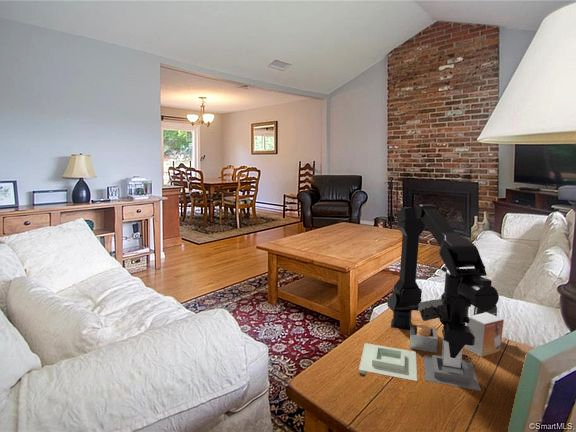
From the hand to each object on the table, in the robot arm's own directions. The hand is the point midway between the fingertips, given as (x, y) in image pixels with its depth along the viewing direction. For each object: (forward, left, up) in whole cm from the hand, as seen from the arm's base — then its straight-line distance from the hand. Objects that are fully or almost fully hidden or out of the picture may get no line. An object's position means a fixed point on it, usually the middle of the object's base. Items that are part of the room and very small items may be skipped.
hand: (451, 353), depth 88 cm
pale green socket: (0, -15, -6) cm, 16 cm away
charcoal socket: (0, 0, -6) cm, 6 cm away
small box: (-15, +10, -6) cm, 19 cm away
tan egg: (-12, -6, -5) cm, 14 cm away
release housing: (-12, -6, -6) cm, 15 cm away
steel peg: (0, 0, -2) cm, 2 cm away
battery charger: (-24, +12, -6) cm, 28 cm away
